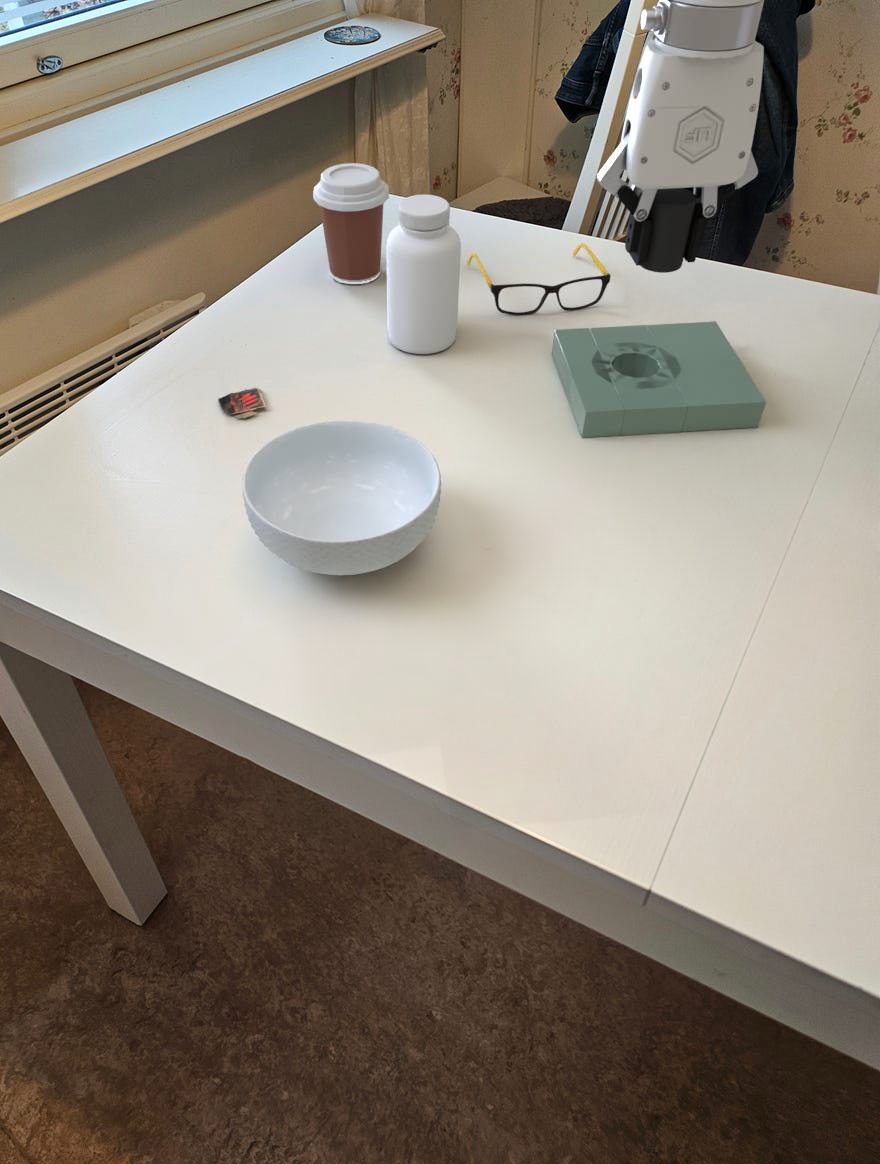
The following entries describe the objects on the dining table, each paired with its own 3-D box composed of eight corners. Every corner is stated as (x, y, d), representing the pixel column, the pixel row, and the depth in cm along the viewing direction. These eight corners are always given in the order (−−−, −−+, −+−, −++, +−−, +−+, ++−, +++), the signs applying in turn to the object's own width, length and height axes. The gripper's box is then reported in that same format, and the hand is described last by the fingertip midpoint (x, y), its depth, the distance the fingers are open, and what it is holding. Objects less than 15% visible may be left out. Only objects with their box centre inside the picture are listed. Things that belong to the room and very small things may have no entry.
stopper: (674, 252, 85) (688, 185, 80) (687, 271, 82) (702, 203, 78) (632, 254, 85) (644, 188, 80) (644, 274, 82) (657, 206, 78)
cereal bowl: (457, 592, 75) (460, 527, 70) (258, 618, 73) (246, 553, 68) (421, 470, 86) (421, 407, 81) (247, 490, 85) (236, 426, 80)
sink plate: (709, 345, 101) (715, 321, 99) (758, 427, 90) (766, 401, 88) (551, 354, 100) (554, 329, 98) (581, 437, 90) (585, 412, 87)
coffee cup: (364, 297, 110) (359, 195, 101) (305, 279, 114) (295, 179, 105) (404, 267, 115) (403, 168, 106) (347, 251, 119) (341, 154, 110)
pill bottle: (446, 361, 100) (449, 224, 89) (378, 350, 102) (373, 214, 91) (465, 327, 105) (471, 193, 94) (400, 317, 107) (398, 184, 96)
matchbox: (213, 402, 95) (213, 398, 94) (256, 386, 97) (256, 383, 96) (233, 423, 92) (233, 419, 92) (277, 406, 94) (277, 402, 94)
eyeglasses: (491, 320, 106) (493, 288, 103) (466, 265, 115) (467, 234, 112) (608, 309, 107) (614, 277, 104) (574, 256, 117) (578, 224, 114)
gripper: (613, 42, 67) (581, 281, 80) (832, 32, 67) (763, 270, 81) (589, 16, 72) (563, 245, 85) (793, 6, 73) (735, 234, 86)
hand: (661, 255), depth 83 cm, fingers closed on stopper, 4 cm apart
